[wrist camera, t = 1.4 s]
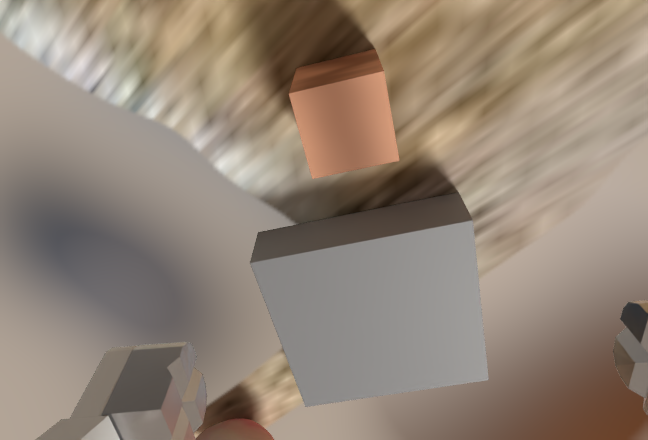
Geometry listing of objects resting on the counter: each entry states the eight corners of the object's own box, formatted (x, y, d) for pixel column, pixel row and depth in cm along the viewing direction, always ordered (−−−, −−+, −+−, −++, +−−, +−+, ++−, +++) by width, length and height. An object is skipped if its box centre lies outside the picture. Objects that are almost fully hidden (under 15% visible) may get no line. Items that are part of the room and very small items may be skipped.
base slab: (458, 192, 34) (472, 220, 30) (475, 343, 41) (488, 379, 38) (258, 232, 36) (249, 263, 32) (307, 369, 43) (305, 406, 40)
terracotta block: (375, 48, 29) (383, 70, 24) (388, 125, 32) (399, 160, 26) (296, 67, 30) (288, 93, 25) (315, 141, 32) (312, 178, 27)
